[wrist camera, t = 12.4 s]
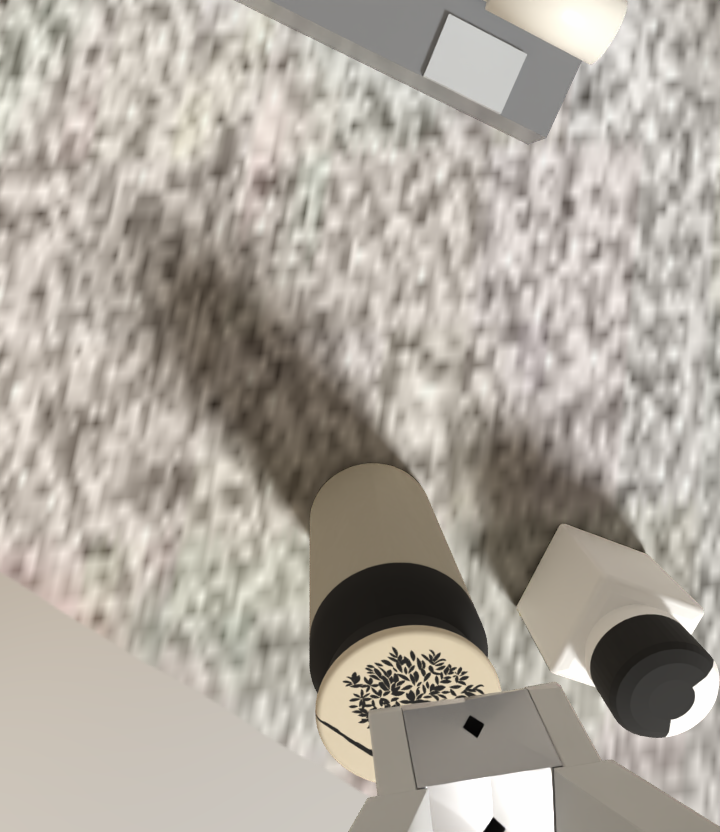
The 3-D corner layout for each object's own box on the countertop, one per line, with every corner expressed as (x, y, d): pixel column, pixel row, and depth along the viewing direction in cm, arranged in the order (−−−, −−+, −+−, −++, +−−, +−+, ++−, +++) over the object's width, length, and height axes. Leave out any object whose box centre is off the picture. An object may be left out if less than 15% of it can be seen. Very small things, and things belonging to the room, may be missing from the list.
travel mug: (376, 436, 42) (423, 586, 24) (454, 520, 44) (548, 713, 26) (284, 515, 43) (266, 712, 25) (364, 593, 45) (398, 824, 28)
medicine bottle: (513, 607, 46) (581, 735, 34) (559, 520, 44) (647, 623, 33) (601, 637, 47) (694, 770, 36) (649, 553, 46) (763, 664, 34)
